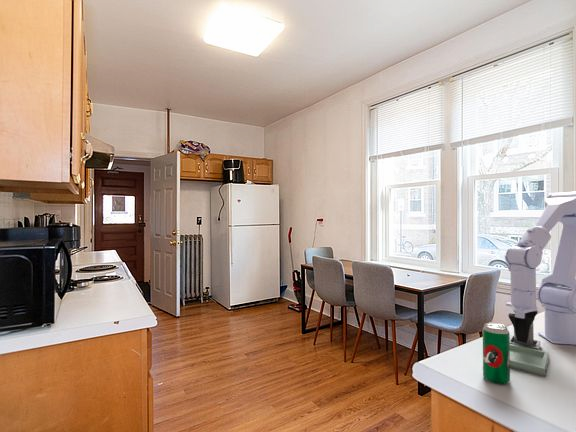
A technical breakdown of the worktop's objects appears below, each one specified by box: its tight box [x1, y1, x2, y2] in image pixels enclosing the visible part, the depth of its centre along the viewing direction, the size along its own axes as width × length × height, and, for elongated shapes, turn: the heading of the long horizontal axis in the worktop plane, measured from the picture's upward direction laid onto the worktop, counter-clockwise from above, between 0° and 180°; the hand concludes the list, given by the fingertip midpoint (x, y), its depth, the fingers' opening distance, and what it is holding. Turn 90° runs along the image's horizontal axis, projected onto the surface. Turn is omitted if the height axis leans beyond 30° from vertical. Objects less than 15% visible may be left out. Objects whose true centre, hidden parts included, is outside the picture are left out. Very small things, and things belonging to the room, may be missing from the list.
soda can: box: [482, 322, 511, 385], centre depth 72 cm, size 5×5×12 cm
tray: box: [510, 344, 550, 378], centre depth 81 cm, size 12×12×2 cm
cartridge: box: [513, 321, 535, 347], centre depth 90 cm, size 4×4×7 cm
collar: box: [510, 335, 541, 350], centre depth 90 cm, size 7×7×2 cm
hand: (523, 338), depth 90 cm, fingers open, 6 cm apart
